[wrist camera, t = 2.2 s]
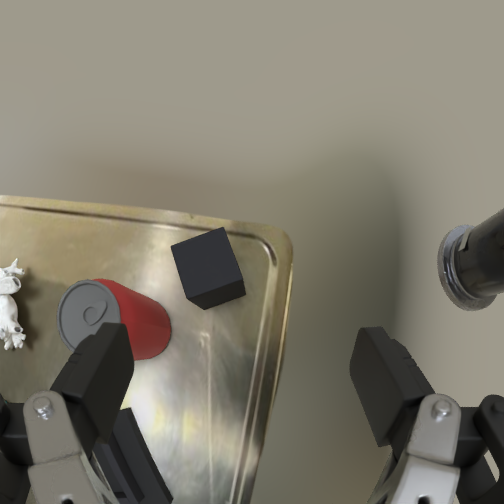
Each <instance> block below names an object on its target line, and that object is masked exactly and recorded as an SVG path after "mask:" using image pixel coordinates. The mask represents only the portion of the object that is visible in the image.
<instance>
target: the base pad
mask: <svg viewBox="0 0 504 504" xmlns="http://www.w3.org/2000/svg"><path fill="white" fill-rule="evenodd" d="M92 451H93V452H94V454H95V456H96V459H97V461H98V463H99V465H100V467H101V469H102V471H103V473H104V476H105V478H106V480H107V482H108V483H109V485H110V487H111V489H112V491H113V493H114V495H115V497H116V498H117V500H118V501H119V503H120V504H171V502H172V500H173V498H172V496H171V494H170V492H169V490H168V489H167V487H166V485H165V483H164V481H163V479H162V477H161V475H160V473H159V471H158V469H157V467H156V465H155V463H154V461H153V459H152V457H151V455H150V453H149V451H148V448H147V446H146V444H145V442H144V439H143V437H142V435H141V433H140V430H139V428H138V425H137V423H136V421H135V418H134V416H133V413H132V411H131V408H126V409H122V410H119V413H118V416H117V418H116V421H115V424H114V427H113V430H112V433H111V435H110V438H109V441H108V444H107V445H104V444H100V443H95V445H94V448H93V450H92Z"/></svg>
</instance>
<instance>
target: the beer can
mask: <svg viewBox="0 0 504 504" xmlns="http://www.w3.org/2000/svg"><path fill="white" fill-rule="evenodd" d="M103 322H112V323H123V324H125V325H126V327H127V330H128V335H129V340H130V344H131V348H132V353H133V357H134V361H135V360H144V359H151V358H153V357H155V356H157V355H159V354H160V353H161V352H162V351H163V350H164V349H165V347H166V345H167V343H168V341H169V339H170V332H171V326H170V320H169V317H168V315H167V313H166V311H165V309H164V308H163V307H162V306H161V305H160V304H159V303H158V302H156V301H154V300H152V299H150V298H148V297H146V296H144V295H142V294H140V293H137V292H135V291H133V290H131V289H129V288H127V287H125V286H123V285H121V284H119V283H116V282H114V281H112V280H106V279H94V280H89V279H87V280H82V281H78V282H76V283H75V284H73V285H72V286H70V287H69V288H68V289H67V291H66V292H65V293H64V294H63V296H62V298H61V300H60V303H59V305H58V311H57V327H58V331H59V334H60V337H61V339H62V341H63V342H64V344H65V345H66V346H67V348H68V349H69V350H71V351H72V352H73V353H74V350H75V349H76V347H77V346H78V344H79V343H80V342H81V341H82V340H83V339H85V338H86V337H87V336H89V335H90V334H93V335H95V334H96V332H97V331H98V329H99V328H100V326H101V325H102V323H103Z"/></svg>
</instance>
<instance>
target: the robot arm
mask: <svg viewBox="0 0 504 504" xmlns="http://www.w3.org/2000/svg"><path fill="white" fill-rule="evenodd" d="M470 229H471V226H470V227H469V228H467V229H466V230H465V233H464V234H462V235H460V236H459V237H458V238H457V239H456V240H455V242H454V244H453V246H452V249H451V254H450V265H451V271H452V275H453V278H454V280H455V282H456V284H457V286H458V288H459V289H460V291H461V292H462V293H463V294H464V295H465V296H467V297H468V298H470V299H473V300H482V299H485V298H488V297H490V296H493V295H496V294H500V293H503V292H504V209H502V210H500V211H499V212H498V213H496V214H495V215H493V216H491V217H490V218H489V219H487V220H486V221H484V222H482V223H481V224H479V225H478V226H476V227H474V228H473V229H471V230H470ZM133 372H134V357H133V353H132V348H131V344H130V340H129V335H128V330H127V327H126V325H125V324H123V323H112V322H103V323H102V325H101V326H100V328H99V329H98V331H97V332H96V334H95V335H93V334H90V335H89V336H87V337H86V338H85V339H83V340H82V341H81V342H80V343H79V344H78V346H77V347H76V349H75V350H74V353H73V354H72V355H71V356H70V358H69V359H68V362H66V364H65V366H64V367H63V369H62V370H61V372H60V373H59V375H58V377H57V378H56V380H55V382H54V383H53V385H52V386H51V388H50V390H43V391H39V392H36V393H34V394H33V395H31V396H30V397H29V398H28V399H27V400H26V402H25V403H6V402H5V401H4V399H3V398H2V396H1V394H0V504H25V502H26V499H27V496H28V493H29V490H30V487H31V486H32V490H33V493H34V496H35V499H36V502H37V504H120V503H119V501H118V500H117V498H116V497H115V495H114V493H113V491H112V489H111V487H110V485H109V483H108V482H107V480H106V478H105V476H104V473H103V471H102V469H101V467H100V465H99V463H98V461H97V459H96V456H95V454H94V452H93V451H92V450H93V448H94V445H95V443H100V444H104V445H107V444H108V441H109V438H110V435H111V433H112V430H113V427H114V424H115V421H116V418H117V416H118V413H119V410H120V407H121V405H122V402H123V399H124V397H125V394H126V391H127V389H128V386H129V383H130V381H131V378H132V376H133ZM350 376H351V379H352V381H353V384H354V386H355V389H356V391H357V394H358V396H359V399H360V401H361V404H362V406H363V408H364V411H365V414H366V416H367V419H368V421H369V424H370V426H371V429H372V431H373V434H374V437H375V439H376V442H377V445H378V447H382V446H386V445H391V447H392V449H393V450H392V452H391V453H390V455H389V458H388V460H387V462H386V465H385V467H384V469H383V471H382V474H381V476H380V478H379V480H378V482H377V485H376V487H375V489H374V491H373V493H372V495H371V497H370V498H369V500H368V501H367V503H366V504H453V500H454V497H455V493H456V495H457V498H458V500H459V503H460V504H504V397H502V396H499V395H488V396H486V397H485V398H484V399H483V401H482V402H481V404H480V405H479V407H460V406H459V405H458V403H457V402H456V401H455V400H454V399H452V398H451V397H449V396H447V395H444V394H436V393H435V391H434V390H433V388H432V387H431V385H430V384H429V382H428V381H427V379H426V378H425V376H424V374H423V373H422V371H421V370H420V368H419V367H418V366H417V364H416V362H415V361H414V359H412V358H411V355H410V354H409V352H408V351H407V349H406V348H405V347H404V346H403V345H402V344H400V343H399V342H398V341H396V340H395V339H390V338H389V336H388V335H387V333H386V332H385V330H384V329H383V327H381V326H379V327H366V328H360V330H359V332H358V335H357V339H356V342H355V347H354V350H353V354H352V357H351V361H350ZM488 450H489V451H490V453H491V455H492V457H493V459H494V461H495V463H496V464H497V467H498V469H499V474H500V475H499V479H498V481H497V482H496V481H495V478H494V476H493V474H492V472H491V470H490V467H489V465H488V464H487V461H486V459H485V457H484V455H485V453H486V452H487V451H488Z"/></svg>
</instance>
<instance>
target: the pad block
mask: <svg viewBox="0 0 504 504" xmlns="http://www.w3.org/2000/svg"><path fill="white" fill-rule="evenodd" d="M171 250H172V253H173V257H174V260H175V263H176V266H177V270H178V273H179V276H180V279H181V282H182V285H183V288H184V292H185V295H186V298H187V299H188V300H189V301H191V302H192V303H194V304H195V305H197V306H199V307H200V308H202V309H203V310H206V309H208V308H211V307H214V306H217V305H220V304H222V303H225V302H228V301H231V300H233V299H236V298H239V297H241V296H244V295H246V293H245V287H244V281H243V277H242V274H241V272H240V269H239V266H238V264H237V261H236V259H235V256H234V253H233V251H232V248H231V245H230V243H229V240H228V237H227V235H226V232H225V229H224V227H221V228H218V229H216V230H213V231H210V232H207V233H205V234H202V235H199V236H196V237H194V238H191V239H188V240H186V241H183V242H180V243H178V244H175V245H172V246H171Z"/></svg>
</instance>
